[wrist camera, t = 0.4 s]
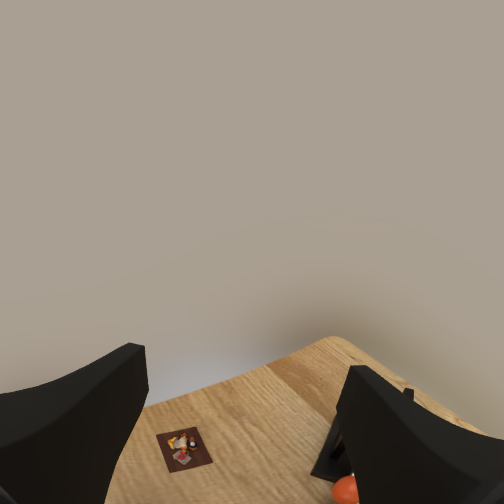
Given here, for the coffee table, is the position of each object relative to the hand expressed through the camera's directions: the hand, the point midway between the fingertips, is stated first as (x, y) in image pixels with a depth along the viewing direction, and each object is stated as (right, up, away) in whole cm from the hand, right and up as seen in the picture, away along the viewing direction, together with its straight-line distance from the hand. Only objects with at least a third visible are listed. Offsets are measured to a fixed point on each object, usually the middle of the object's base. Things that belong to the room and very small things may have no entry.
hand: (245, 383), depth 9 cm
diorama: (-7, -16, +14) cm, 22 cm away
